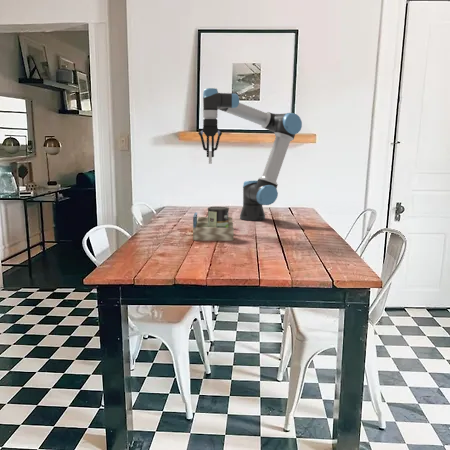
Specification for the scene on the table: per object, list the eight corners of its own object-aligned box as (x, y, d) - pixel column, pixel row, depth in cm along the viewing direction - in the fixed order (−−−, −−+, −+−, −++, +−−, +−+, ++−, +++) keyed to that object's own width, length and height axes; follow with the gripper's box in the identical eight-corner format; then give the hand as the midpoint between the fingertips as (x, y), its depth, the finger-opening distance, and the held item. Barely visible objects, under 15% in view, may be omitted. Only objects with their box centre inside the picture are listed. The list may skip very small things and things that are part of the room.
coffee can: (230, 234, 235) (230, 206, 232) (226, 238, 225) (226, 209, 222) (210, 233, 237) (210, 206, 234) (205, 237, 227) (205, 209, 224)
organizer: (232, 228, 254) (232, 207, 252) (233, 240, 223) (233, 217, 221) (196, 227, 253) (196, 207, 251) (193, 240, 222) (192, 217, 220)
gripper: (222, 119, 252) (222, 163, 256) (198, 118, 252) (198, 163, 256) (222, 118, 244) (222, 163, 249) (197, 118, 244) (197, 163, 249)
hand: (210, 163), depth 252 cm, fingers closed
